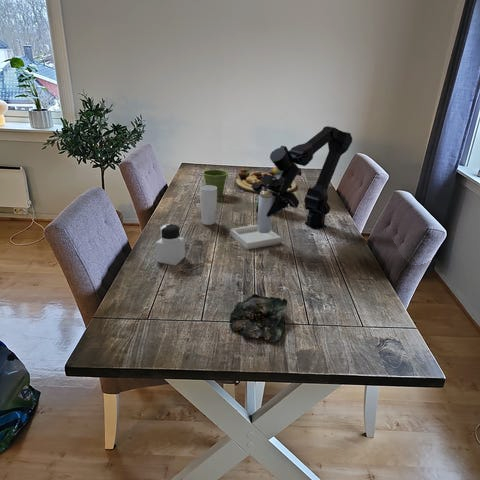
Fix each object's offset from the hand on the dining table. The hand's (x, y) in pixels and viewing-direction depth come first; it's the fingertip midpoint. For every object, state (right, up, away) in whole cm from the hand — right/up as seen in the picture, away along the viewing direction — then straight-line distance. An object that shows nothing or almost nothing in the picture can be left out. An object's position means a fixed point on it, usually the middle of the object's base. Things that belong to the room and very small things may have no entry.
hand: (262, 214), depth 148 cm
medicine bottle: (-31, -16, -7) cm, 35 cm away
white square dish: (-2, -9, +11) cm, 14 cm away
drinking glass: (-21, -2, +24) cm, 31 cm away
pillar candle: (+6, +4, +40) cm, 41 cm away
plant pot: (-20, +12, +57) cm, 61 cm away
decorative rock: (-3, -31, -37) cm, 48 cm away
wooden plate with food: (+6, +19, +75) cm, 78 cm away
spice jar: (+1, -6, +4) cm, 7 cm away
